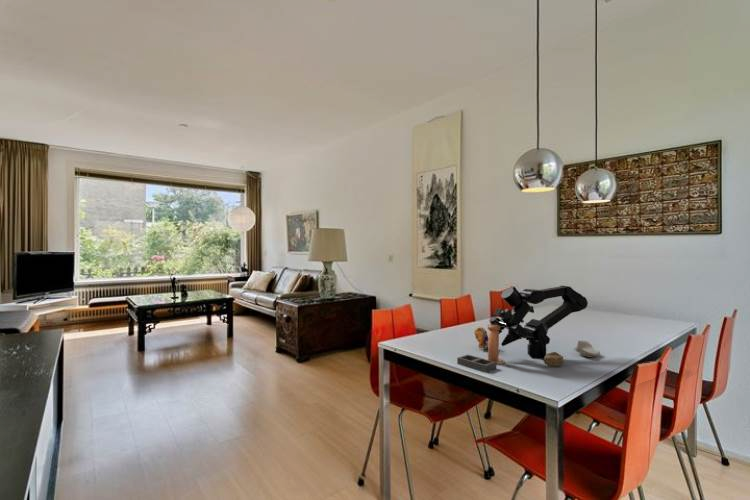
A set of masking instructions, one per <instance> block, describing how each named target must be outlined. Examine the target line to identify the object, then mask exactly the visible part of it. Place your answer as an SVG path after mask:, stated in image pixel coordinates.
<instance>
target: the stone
mask: <svg viewBox="0 0 750 500" xmlns="http://www.w3.org/2000/svg"><path fill="white" fill-rule="evenodd" d="M542 359H543V362H544V364H545V365H546V366H548V368H556V367H560V366H562V365H563V364H564V356H563V355H562V354H559V352H556V351H551V352H549V353H546V356H545V357H544V358H542Z"/></svg>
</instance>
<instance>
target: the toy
mask: <svg viewBox="0 0 750 500" xmlns="http://www.w3.org/2000/svg"><path fill="white" fill-rule="evenodd" d="M474 337H475V339H476V342H478V349H483V350H485V349H486V347H488V340H489V339H488V338H489V334H488V331H487V330H486V329H485V328H484V327H481V326H479V327H476V329H474Z"/></svg>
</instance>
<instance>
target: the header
mask: <svg viewBox="0 0 750 500" xmlns="http://www.w3.org/2000/svg"><path fill="white" fill-rule="evenodd" d="M456 359H457V362H456V363H457V365H460V366H462V367H466V368H470V369H474V370H476V371H480V372H482V373H483V372H484V373H488V372H491V371H494V370H496V369H497V365H496V362H494V361H490V360H487V359H485V358H482V357H479V356H475V355H471V354H464V355H462V356H459V357H457V358H456Z"/></svg>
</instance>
